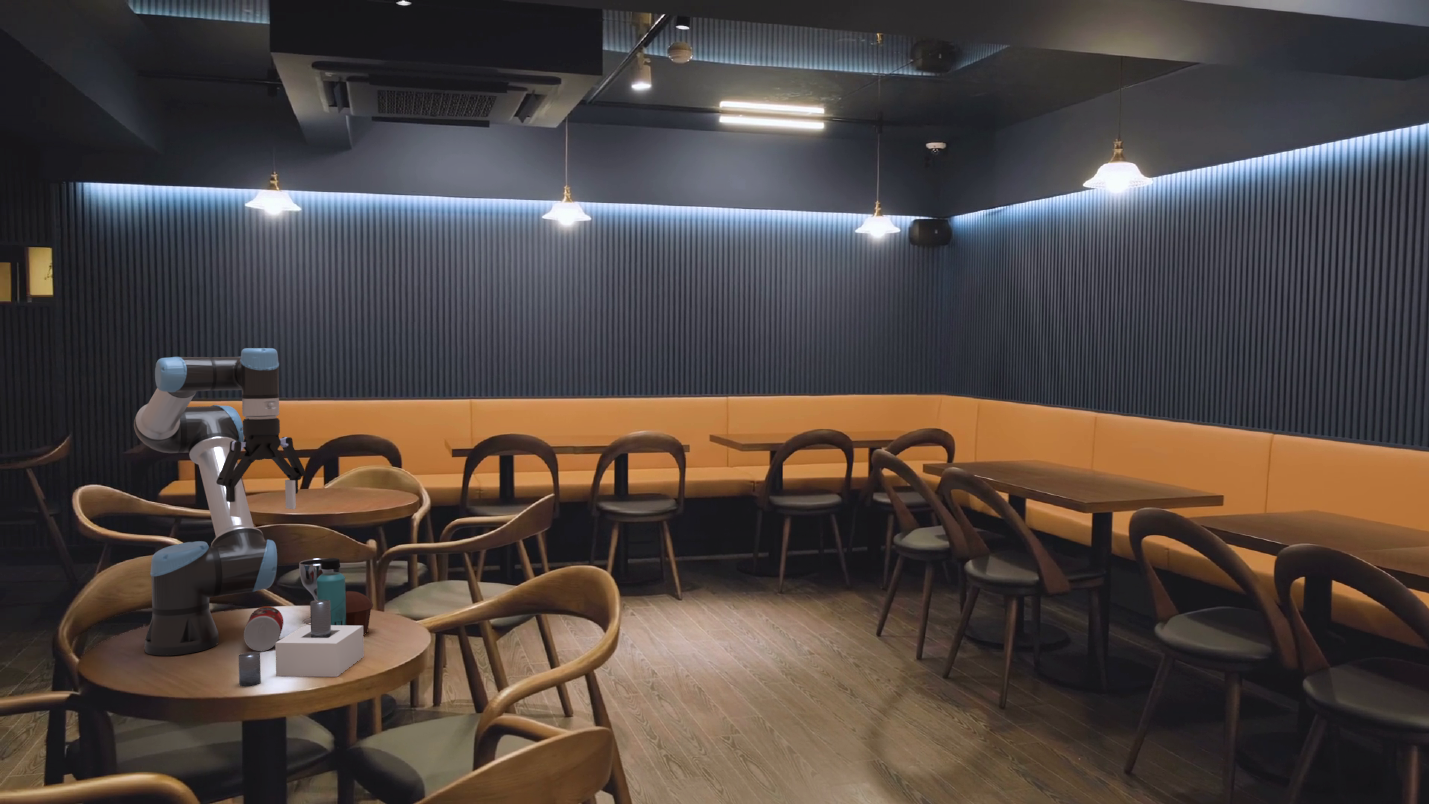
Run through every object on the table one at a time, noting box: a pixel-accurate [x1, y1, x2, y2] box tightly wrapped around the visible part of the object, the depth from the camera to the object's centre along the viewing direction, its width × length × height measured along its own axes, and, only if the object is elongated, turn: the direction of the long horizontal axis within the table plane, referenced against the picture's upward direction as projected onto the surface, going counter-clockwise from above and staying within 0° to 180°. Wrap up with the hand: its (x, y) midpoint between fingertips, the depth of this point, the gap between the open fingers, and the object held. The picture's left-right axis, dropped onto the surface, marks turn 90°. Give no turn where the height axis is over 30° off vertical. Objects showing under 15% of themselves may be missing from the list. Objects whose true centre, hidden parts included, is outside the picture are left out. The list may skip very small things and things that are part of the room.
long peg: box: [309, 599, 331, 638], centre depth 220 cm, size 4×4×14 cm
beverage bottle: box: [317, 557, 347, 625], centre depth 236 cm, size 6×7×20 cm
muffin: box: [345, 590, 374, 636], centre depth 246 cm, size 12×11×10 cm
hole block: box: [274, 624, 365, 678], centre depth 220 cm, size 13×14×7 cm
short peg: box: [238, 651, 262, 688], centre depth 209 cm, size 4×4×6 cm
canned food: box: [243, 605, 284, 652], centre depth 237 cm, size 8×8×11 cm
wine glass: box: [298, 557, 334, 624], centre depth 258 cm, size 8×8×15 cm
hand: (263, 512), depth 229 cm, fingers open, 13 cm apart
